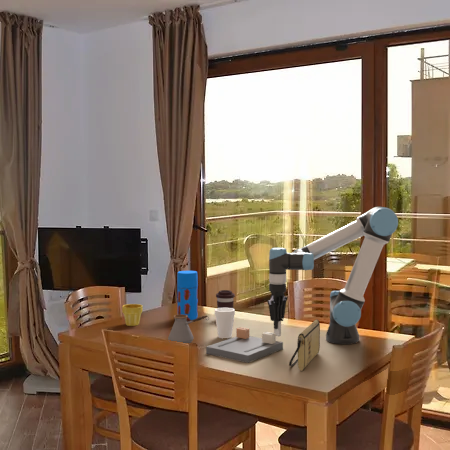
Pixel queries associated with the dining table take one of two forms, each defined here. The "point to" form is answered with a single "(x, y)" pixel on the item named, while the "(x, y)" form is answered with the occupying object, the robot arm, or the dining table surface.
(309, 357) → the clutch purse
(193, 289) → the thermos
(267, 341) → the fader
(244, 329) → the fader
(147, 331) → the dining table surface
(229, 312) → the foam cup
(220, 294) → the coffee cup
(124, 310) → the plant pot
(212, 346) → the slider panel
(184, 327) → the coffee pot
